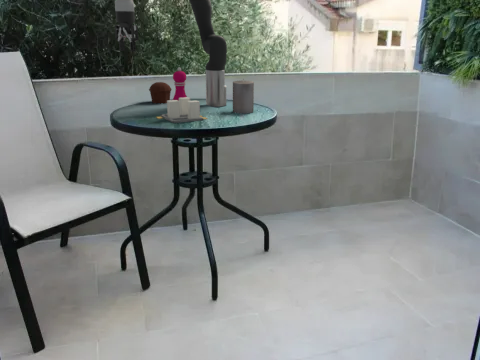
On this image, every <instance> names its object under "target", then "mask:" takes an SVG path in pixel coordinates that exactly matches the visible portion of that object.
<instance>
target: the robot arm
mask: <svg viewBox="0 0 480 360" xmlns="http://www.w3.org/2000/svg"><path fill="white" fill-rule="evenodd" d="M189 3H190V7H191V10H192V12H193V16H194V18H195V22H196V26H197V28H198V33H199V36H200V41H201V45H202V49H203V51H204V52H205V53H206V54H207V55H209V58H208V59H209V60H208V61H207V62H206V63H205V100H206V101H205V102H206V103H205V104H206V106H209V107H215V108H216V107H217V108H218V107H225V106H227V85H226V82H225V79H226V77H225V76H226V75H225V73H226V71H225V69H226V68H225V67H226V64H227V53H228V52H227V51H228V50H227V49H228V46H227V41H226V39H225V37H223V36H221V35H217V34H216V32H215V30H214V26H213V22H212V15H213V12H212V11H213V8H212V7H213V6H212V2H211V0H189ZM114 5H115V6H114V8H115V21H116V23H118V24H115V25H114V35H115V40H116V41H117V42H118V47H119V48H118V49H119V51H120V52H123V51H124V52H125V51H126V46H125V45H126V44H125V40H126V38H127V39H128V41H129V48H130V49H129V51H130V52H131V53H132V52H134V53H135V52H136V50H137V47H136V46H137V45H136V42H137V41H139V39H140V38H139V30H138V25H137V24H136V25H133V24H134V23H135V22H136V19H135V4H134V0H115V1H114Z"/></svg>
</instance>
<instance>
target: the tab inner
mask: <svg viewBox="0 0 480 360" xmlns="http://www.w3.org/2000/svg"><path fill="white" fill-rule="evenodd" d="M187 101H191V97H188V96H187V97H183V98H179V114H180V115H187V114H188V105H187Z"/></svg>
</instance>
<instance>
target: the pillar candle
mask: <svg viewBox="0 0 480 360" xmlns="http://www.w3.org/2000/svg"><path fill="white" fill-rule="evenodd" d="M254 83H255V82H254V81H252V80H245V79H244V78H243V79H242V80H234V81H232V113H235V114H240V115H241V114H242V113H243V115H244V114H252V113H253V112H254V109H255V108H254V107H255V106H254V104H255V103H254V99H255V98H254V97H255V95H254V94H255V92H254V91H255V88H254V87H255V84H254Z"/></svg>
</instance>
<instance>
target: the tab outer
mask: <svg viewBox="0 0 480 360" xmlns="http://www.w3.org/2000/svg"><path fill="white" fill-rule="evenodd" d="M187 105H188V119H195V118H200V115H201V112H200V111H201V110H200V109H201V106H200V105H201V103H200V101H199V100H190V101H187Z"/></svg>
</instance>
